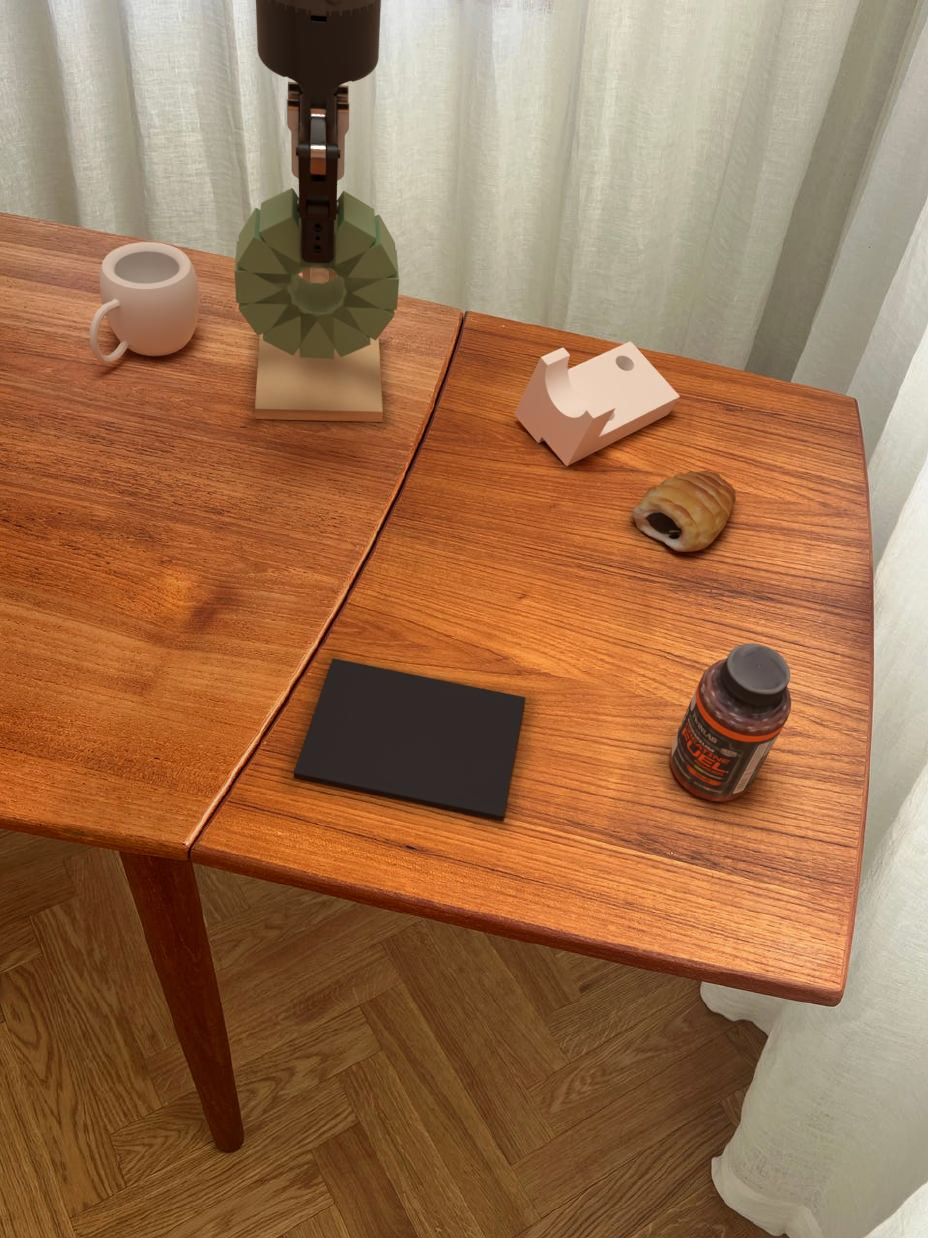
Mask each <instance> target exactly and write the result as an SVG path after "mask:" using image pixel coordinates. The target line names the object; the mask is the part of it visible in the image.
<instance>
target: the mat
mask: <svg viewBox="0 0 928 1238" xmlns="http://www.w3.org/2000/svg"><path fill="white" fill-rule="evenodd" d="M525 704H526V697H525V696H522V695H516V694H513V693H512V694H511V693H506V692H501V691H497V690H492V689H488V688H487V689H486V688H482V687H478V686H477V687H476V686H472V685H467V684H462V683H457V682H451V681H447V680H443V679H437V678H434V677H429V676H428V677H427V676H422V675H419V674H413V673H408V672H403V671H398V670H393V669H389V668H383V667H378V666H374V665H369V664H363V663H360V662H353V661H348V660H345V659H339V658H334V657H333V658H332V659H331V661H330V664H329V668H328V671H327V674H326V676H325V680H324V682H323V685H322V687H321V690H320V694H319V697H318V700H317V703H316V705H315V709H314V712H313V714H312V717H311V720H310V724H309V727H308V728H307V732H306V735H305V738H304V740H303V744H302V747H301V750H300V753H299V756H298V758H297V761H296V765H295V767H294V770H293V778H294V779H298V780H299V779H300V780H303V781H309V782H312V783H313V782H314V783H319V784H323V785H328V786H333V787H338V788H343V789H348V790H352V791H356V792H362V793H367V794H371V795H377V796H381V797H386V798H390V799H395V800H400V801H405V802H409V803H413V804H414V803H415V804H420V805H424V806H429V807H433V808H438V809H443V810H448V811H453V812H457V813H463V814H467V815H472V816H478V817H481V818H486V819H491V820H496V821H500V822H502V821H504V818H505V815H506V814H505V813H506V807H507V801H508V796H509V792H510V785H511V780H512V774H513V768H514V763H515V757H516V752H517V748H518V747H517V746H518V741H519V736H520V730H521V725H522V719H523V714H524V709H525Z"/></svg>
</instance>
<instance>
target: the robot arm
mask: <svg viewBox="0 0 928 1238" xmlns="http://www.w3.org/2000/svg"><path fill="white" fill-rule="evenodd" d="M381 11H382V0H255V15H256V17H255V19H256V46H257V54H258V57H259V59H260V61H261V62H262V64H263V65H264V66H265V67H266V68H267V69H269V70H270V71H271V72H272V73H274V74H276V75H278V76H280V77H282V78H288V79H290V80H292V81H287V99H286V126H287V128H288V130H289V131H290V136H291V137H290V139H291V140H290V143H291V144H290V145H291V148H290V149H291V151H290V152H291V154H290V155H291V158H290V159H291V173H292V175H293V176H294V177H295V178H297V180H298V197H299V199H297V212H299V218H301V238H302V259H303V260H304V261H306V262H311V263H330V262H331V261H332V260H333V258H334V220H336V216H337V214H339V206H338V201H337V200H338V181H340V180H341V179H342V178H344V175H345V161H346V160H345V159H346V157H345V156H346V155H345V154H346V153H345V150H346V149H345V147H346V135H347V133H349V129H350V102H349V95H350V93H349V92H350V91H349V88H350V87H349V85H346V83H349V82H352V83H354V82H357V81H360V80H362V79H364V78H366V77H367V76H369V75H370V74H372V73H373V71H375V69H376V67H377V65H378V64H379V56H380V34H381V33H380V32H381ZM344 84H345V85H344Z"/></svg>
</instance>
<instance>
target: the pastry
mask: <svg viewBox="0 0 928 1238" xmlns="http://www.w3.org/2000/svg"><path fill="white" fill-rule="evenodd" d="M736 499H737V498H736V489H735V488H734V487H733V485H732V484H730V482H728V481H727V480H726V479H724V478H722V476H721V475H720V474H719V473H718V472H715V471H709V470H702V471H701V470H699V471H693V470H689V471H687V472H685V473H681V472H680V473H677V474H675V475H674V476H673V477H667V478H664V480H663V481H661V483H660V484H659V485H654V486H652V487H650V488H649V489H648V490H647V491H646V492H645V494H644V496H643V498H642V500H641V501H640V502H639V503H638V504H637V505H636V506H635V507H633V509H632V519H633V521H634V522H635V526H636V528H637V529H638V530H639V531H640V532H642V533H644V534H645V535H647V536H648V537H650V538H653V539H655V540H656V541H657V540H658V541H659V542H662V543H664V544H665V545H667V546H668V547H669V548H671V549H672V550H674V551H676V552H688V553H692V552H698V551H701V550H704V549H706V548H707V547H708V546H710V545H711V544H712V543H713V542H714V541H715V539H716V538H717V537H718V535H720V533H721V532H722V531H723V530H724V528H725V527H726V525H727V522H728V521H729V518H730V515H731V514H732V510H733V508H734V504H735V502H736Z"/></svg>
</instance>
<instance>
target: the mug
mask: <svg viewBox="0 0 928 1238" xmlns="http://www.w3.org/2000/svg"><path fill="white" fill-rule="evenodd" d="M98 283H99V293H100V299H101V303H102V305H101V306H100V307H99V308H98V309H97V310H96V311H95V313H94V315H93V317H92V319H91V323H90V327H89V336H88V337H89V347H90V350H91V353H92V355H93V357H94V358H95V360H96V361H97V362H99V363H101V364H104V365H105V364H106V365H108V364H109V365H110V364H112V363H114V362H117V361H118V360H119V359H120V358H121V357H122V356H123V355H124V354H125V352H126V351H127V350H128V349H129V350H130V351H132V352H133V353H136V354H138V355H142V356H147V357H163V356H168V355H171V354H174V353H177V352H179V351H180V350H182V349H183V348H184V347H185V346H186V345H187V344H188V343H189V342H190V341H191V339H192V337H193V336H194V333H195V331H196V328H197V323H198V320H199V315H200V289H199V288H200V287H199V280H198V276H197V273H196V269H195V266H194V264H193V263H192V261H191V259H190V258H189V256H188V255H187V254H186V253H185V252H184V251H182V250H181V249H179V248H177V247H175V246H173V245H170V244H167V243H161V242H154V241H139V242H133V243H129V244H125V245H121V246H119V247H116V248H114V249H113V250H112V251H110V252H109V253H108V254H107V255H106V256H105V257H104V259H103V261H102V264H101V265H100V269H99V282H98ZM104 317H106V320H107V322H108V324H109V326H110V328H111V330H112V332H113V333H114V335H115V336H116V338H117V339H118V341H119V342H120V343H119V345H118V346H117V347H116V348H115V350H114V351H112V352H111V353H109V354H107V355H105V354H104V353H103V352H102V351H101V348H100V344H99V343H100V342H99V334H100V333H99V332H100V327H101V324H102V321H103V319H104Z"/></svg>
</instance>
